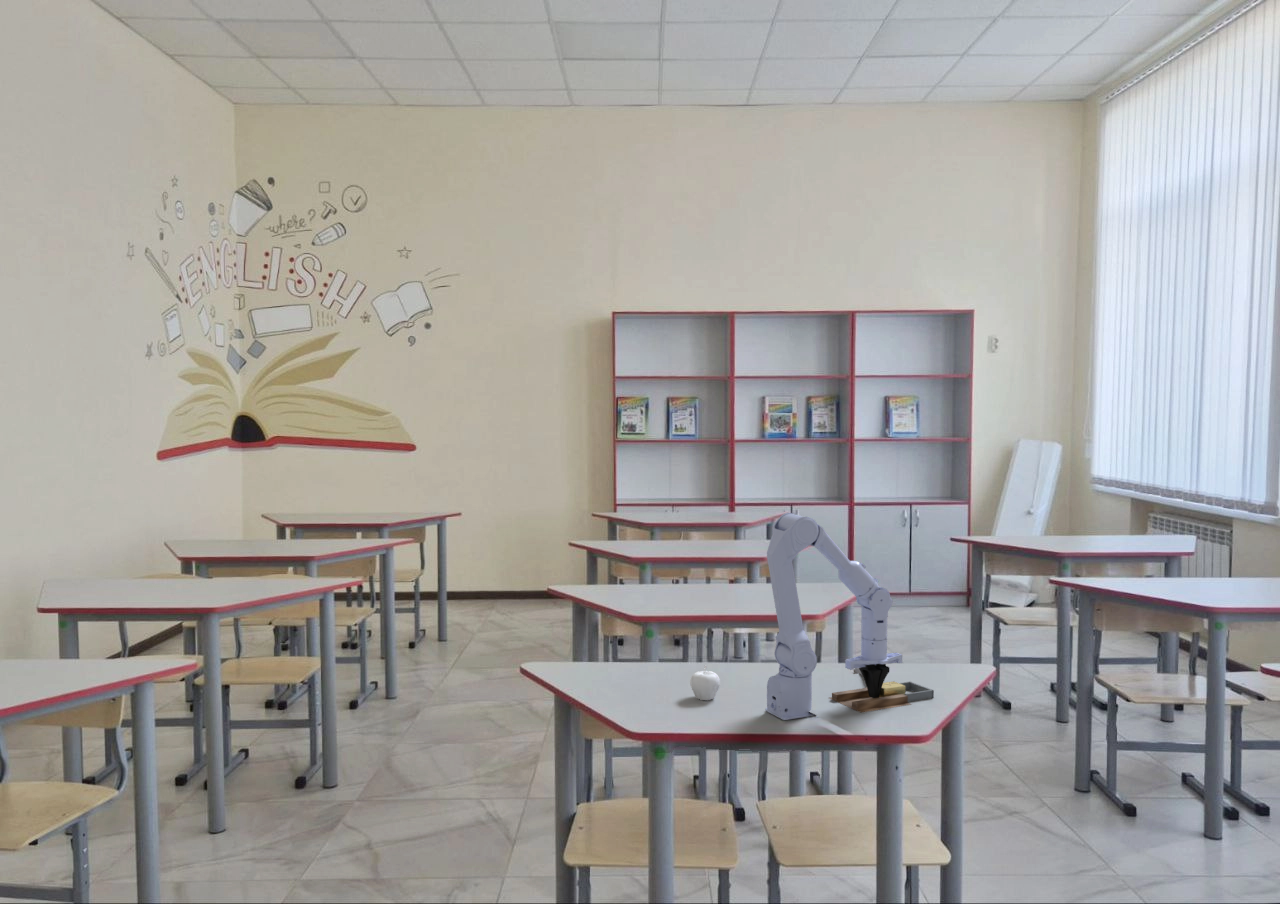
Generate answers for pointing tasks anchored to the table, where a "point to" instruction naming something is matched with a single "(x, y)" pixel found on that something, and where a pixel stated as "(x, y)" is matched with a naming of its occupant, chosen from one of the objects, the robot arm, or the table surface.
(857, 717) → the table surface
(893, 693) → the block
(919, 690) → the tray
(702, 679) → the plain white apple
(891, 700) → the slot board
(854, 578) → the robot arm
